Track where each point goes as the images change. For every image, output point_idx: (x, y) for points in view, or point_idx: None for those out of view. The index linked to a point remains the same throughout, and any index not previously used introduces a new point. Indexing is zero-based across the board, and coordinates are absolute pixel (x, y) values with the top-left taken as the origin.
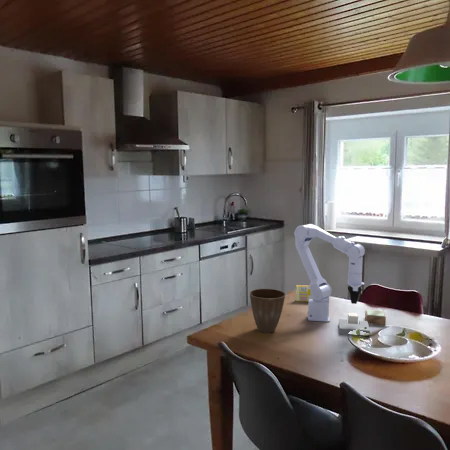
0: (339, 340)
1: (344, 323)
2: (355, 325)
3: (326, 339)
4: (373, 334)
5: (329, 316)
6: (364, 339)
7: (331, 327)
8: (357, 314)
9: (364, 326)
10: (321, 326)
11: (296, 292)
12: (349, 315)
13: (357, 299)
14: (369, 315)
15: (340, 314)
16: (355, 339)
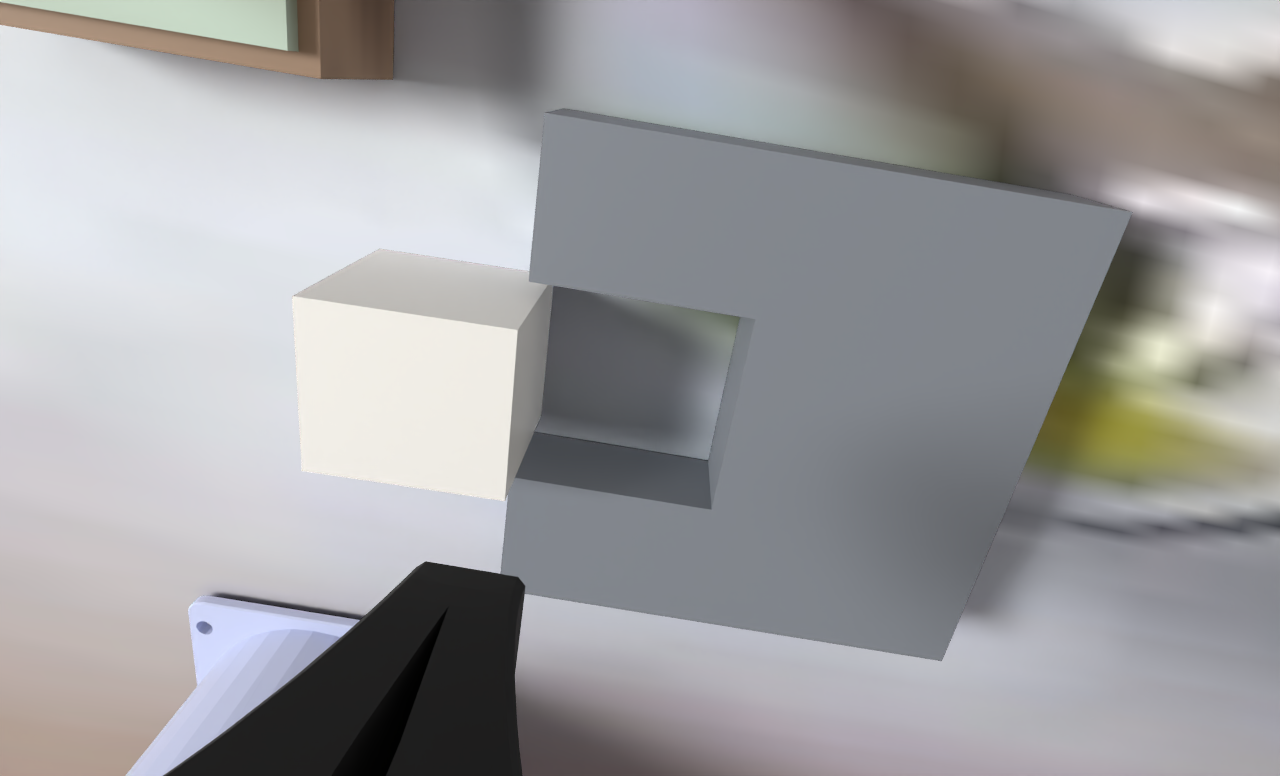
0: (1145, 638)
1: (716, 555)
2: (816, 408)
3: (1082, 756)
4: (970, 90)
5: (231, 607)
6: (1180, 311)
7: (650, 638)
8: (381, 312)
9: (879, 258)
10: (622, 733)
11: None
12: (482, 482)
13: (508, 680)
14: (294, 4)
15: (21, 421)
16: (1151, 441)
